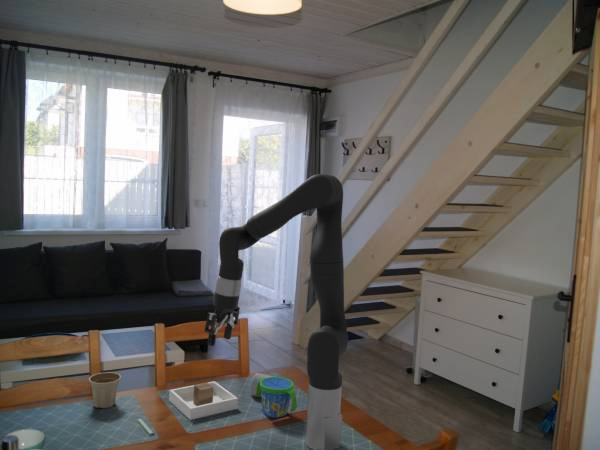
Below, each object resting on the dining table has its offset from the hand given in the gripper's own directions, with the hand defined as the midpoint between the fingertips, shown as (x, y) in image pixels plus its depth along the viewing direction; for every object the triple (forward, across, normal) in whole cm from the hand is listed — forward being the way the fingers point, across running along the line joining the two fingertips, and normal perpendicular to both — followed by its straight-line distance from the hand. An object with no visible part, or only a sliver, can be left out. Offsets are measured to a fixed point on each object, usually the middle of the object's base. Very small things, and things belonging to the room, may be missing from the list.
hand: (219, 341), depth 159 cm
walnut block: (+22, +1, +3) cm, 23 cm away
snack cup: (+20, +9, -19) cm, 29 cm away
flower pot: (+27, -14, +29) cm, 42 cm away
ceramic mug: (+22, +20, -9) cm, 31 cm away
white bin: (+23, +1, +3) cm, 23 cm away
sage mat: (+23, -15, +6) cm, 28 cm away
